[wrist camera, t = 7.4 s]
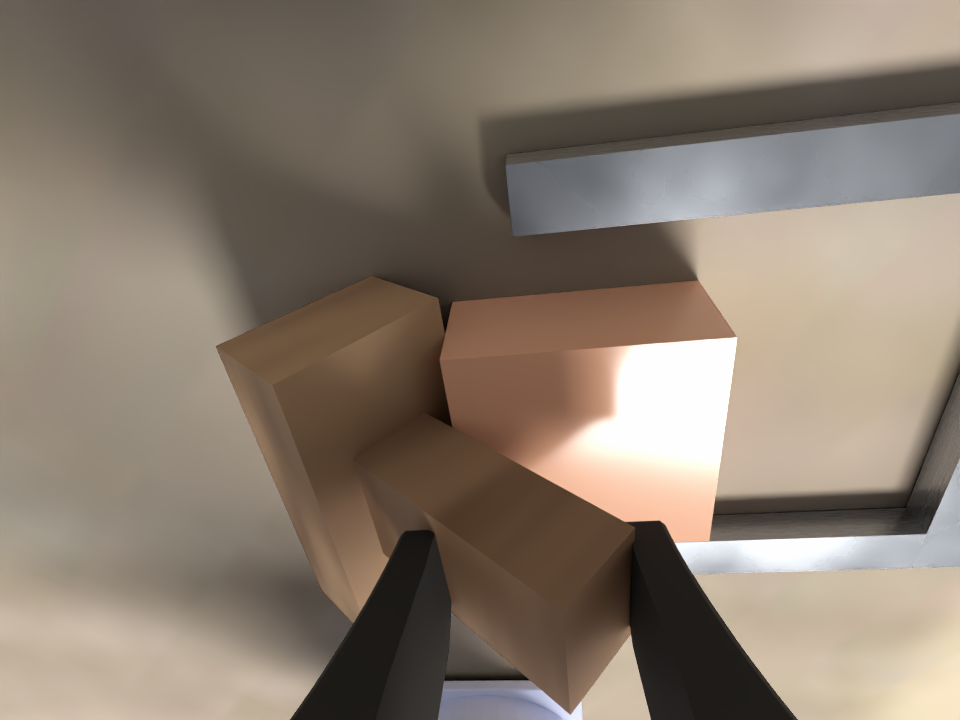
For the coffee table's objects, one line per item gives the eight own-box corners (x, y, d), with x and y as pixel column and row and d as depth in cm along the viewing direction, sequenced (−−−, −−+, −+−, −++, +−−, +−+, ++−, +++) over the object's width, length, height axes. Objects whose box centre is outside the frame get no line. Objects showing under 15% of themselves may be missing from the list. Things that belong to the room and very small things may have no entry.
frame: (944, 539, 17) (966, 566, 16) (543, 552, 19) (544, 578, 18) (1158, 79, 11) (1215, 84, 10) (506, 154, 12) (505, 164, 11)
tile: (679, 460, 17) (708, 540, 14) (482, 471, 17) (476, 550, 15) (695, 276, 14) (737, 337, 11) (453, 297, 14) (439, 360, 12)
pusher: (427, 505, 18) (653, 664, 13) (321, 589, 16) (543, 825, 10) (371, 275, 14) (674, 376, 9) (215, 346, 11) (499, 540, 6)
